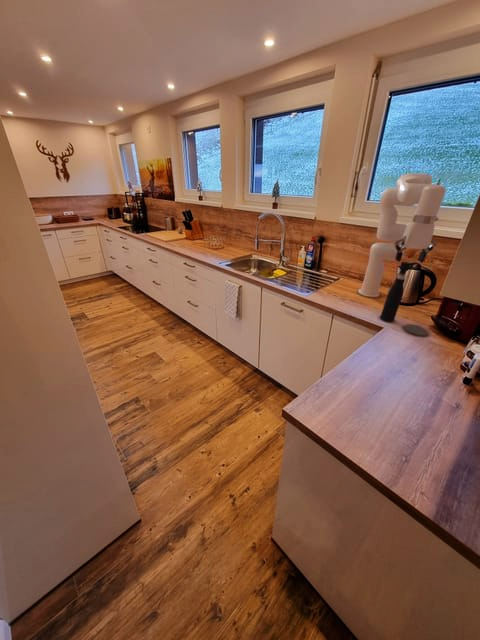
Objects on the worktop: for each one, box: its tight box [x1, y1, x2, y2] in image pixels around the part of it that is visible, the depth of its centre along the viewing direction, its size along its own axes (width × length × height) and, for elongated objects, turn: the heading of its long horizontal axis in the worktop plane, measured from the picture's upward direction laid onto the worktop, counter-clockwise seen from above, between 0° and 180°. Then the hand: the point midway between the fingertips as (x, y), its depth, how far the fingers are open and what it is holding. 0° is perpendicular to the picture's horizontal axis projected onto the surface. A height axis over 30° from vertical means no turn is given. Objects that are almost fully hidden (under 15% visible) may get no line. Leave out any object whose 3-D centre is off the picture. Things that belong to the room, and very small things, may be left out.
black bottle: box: [380, 261, 412, 323], centre depth 129 cm, size 6×6×30 cm
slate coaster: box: [403, 323, 429, 337], centre depth 127 cm, size 10×10×1 cm
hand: (408, 261), depth 114 cm, fingers open, 9 cm apart
